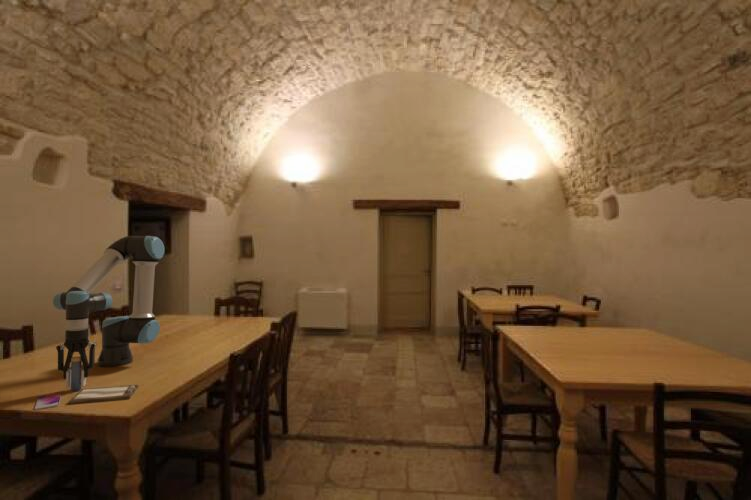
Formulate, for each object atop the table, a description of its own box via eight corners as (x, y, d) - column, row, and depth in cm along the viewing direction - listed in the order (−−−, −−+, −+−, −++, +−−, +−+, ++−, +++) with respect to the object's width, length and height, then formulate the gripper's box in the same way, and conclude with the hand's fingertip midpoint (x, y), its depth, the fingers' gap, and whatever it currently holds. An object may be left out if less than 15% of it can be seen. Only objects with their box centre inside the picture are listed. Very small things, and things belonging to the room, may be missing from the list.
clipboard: (81, 391, 163) (82, 386, 163) (138, 387, 170) (138, 382, 170) (68, 404, 150) (68, 399, 150) (129, 398, 156) (129, 393, 156)
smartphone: (33, 409, 144) (37, 396, 156) (33, 412, 144) (37, 398, 156) (59, 405, 148) (61, 392, 160) (59, 407, 148) (61, 394, 160)
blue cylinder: (72, 388, 166) (72, 356, 166) (82, 388, 167) (83, 355, 167) (69, 391, 163) (69, 358, 163) (79, 391, 164) (80, 357, 164)
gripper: (47, 331, 159) (46, 391, 159) (99, 329, 164) (98, 386, 164) (55, 328, 166) (54, 384, 166) (104, 326, 171) (103, 381, 171)
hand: (76, 385), depth 165 cm, fingers open, 4 cm apart
